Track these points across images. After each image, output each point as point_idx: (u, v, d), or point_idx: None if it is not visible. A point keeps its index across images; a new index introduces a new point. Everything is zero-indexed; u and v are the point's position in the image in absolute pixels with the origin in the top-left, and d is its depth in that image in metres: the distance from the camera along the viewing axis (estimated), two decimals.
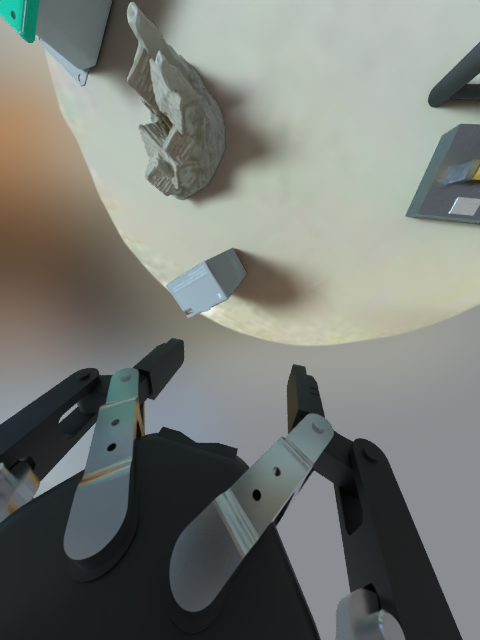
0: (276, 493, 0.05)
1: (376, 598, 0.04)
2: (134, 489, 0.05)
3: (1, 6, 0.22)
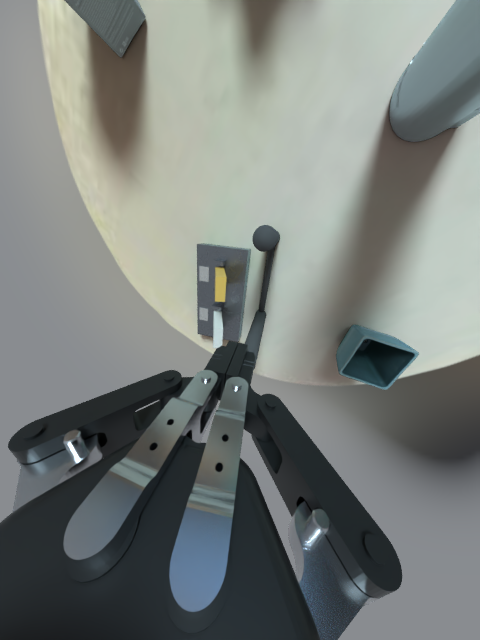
0: (232, 452, 0.06)
1: (305, 504, 0.06)
2: None
3: None
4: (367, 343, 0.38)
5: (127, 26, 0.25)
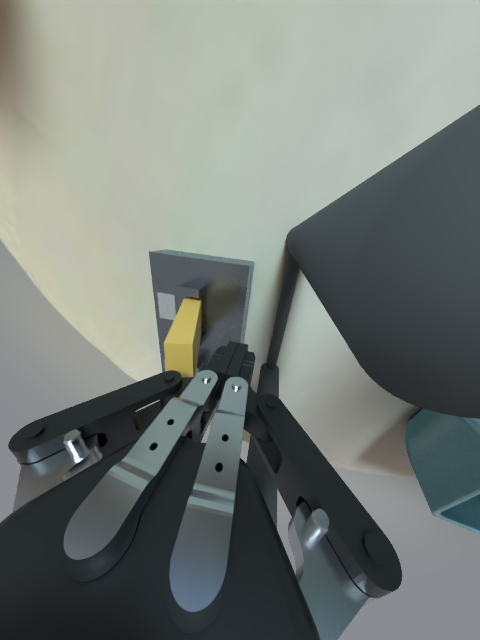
0: (232, 452, 0.06)
1: (305, 503, 0.06)
2: None
3: None
4: None
5: None
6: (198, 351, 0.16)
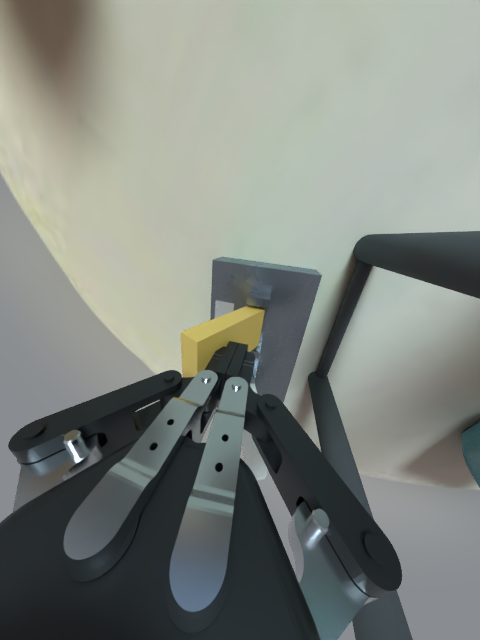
0: (232, 452, 0.06)
1: (305, 504, 0.06)
2: None
3: None
4: None
5: None
6: None
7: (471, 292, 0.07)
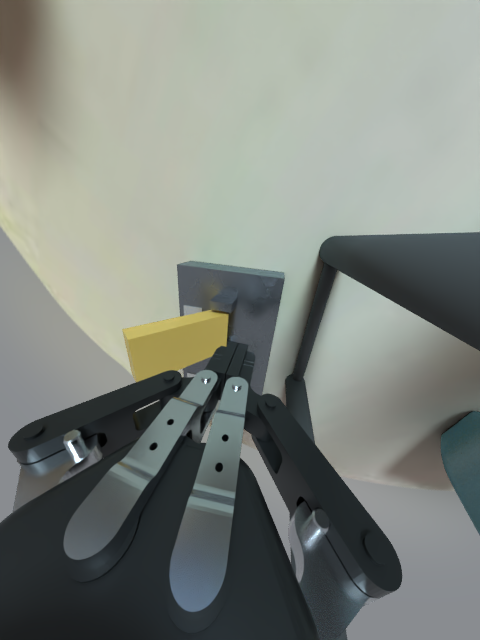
0: (232, 452, 0.06)
1: (305, 504, 0.06)
2: None
3: None
4: None
5: None
6: (192, 362, 0.16)
7: (390, 298, 0.06)
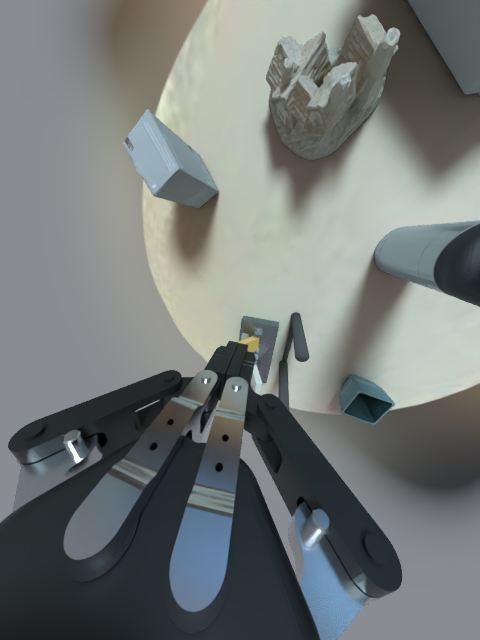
0: (232, 452, 0.06)
1: (305, 504, 0.06)
2: None
3: None
4: None
5: (207, 198, 0.39)
6: None
7: None
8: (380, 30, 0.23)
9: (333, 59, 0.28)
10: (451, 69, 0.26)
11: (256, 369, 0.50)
